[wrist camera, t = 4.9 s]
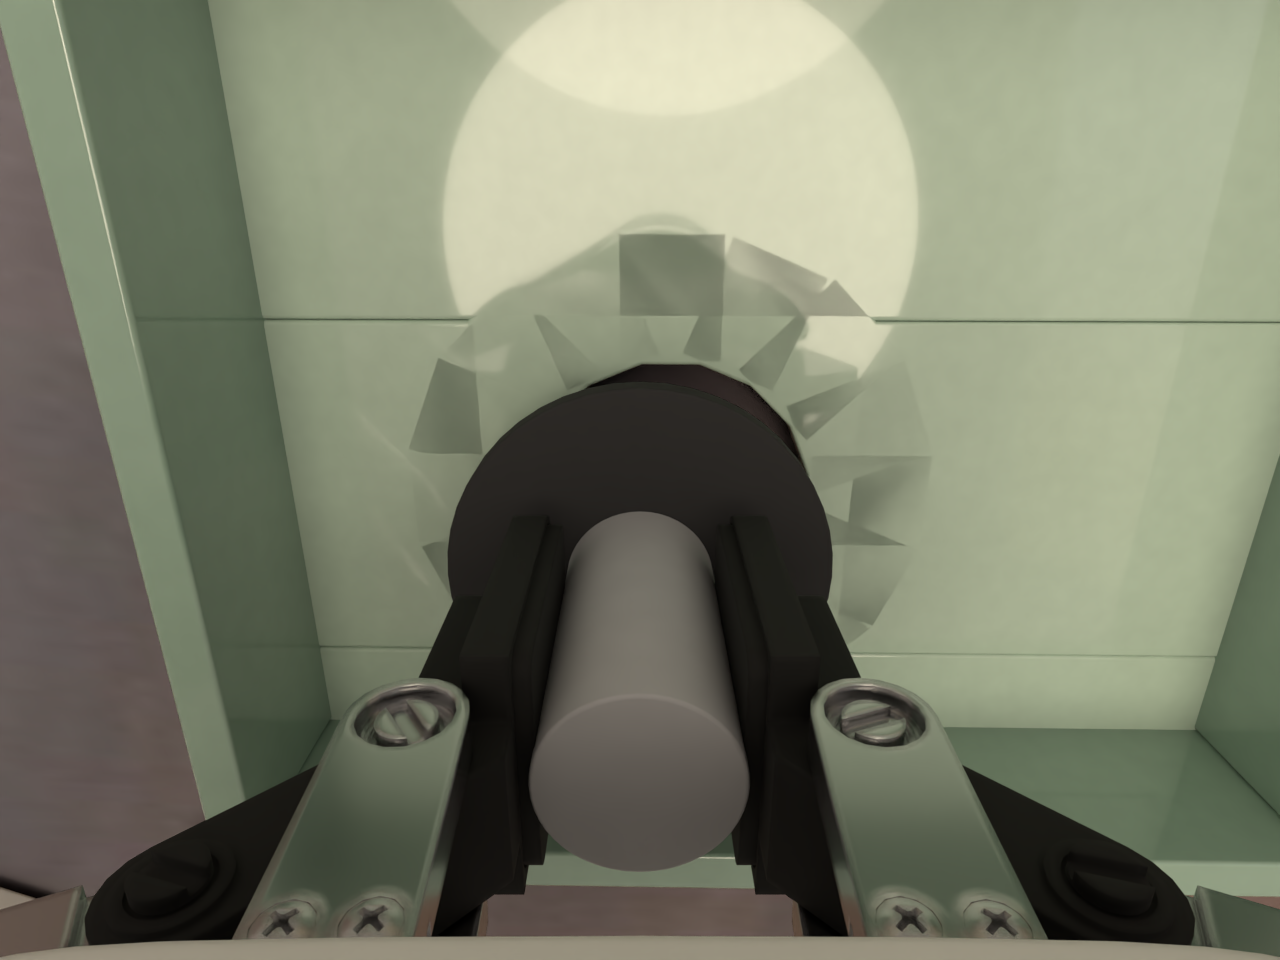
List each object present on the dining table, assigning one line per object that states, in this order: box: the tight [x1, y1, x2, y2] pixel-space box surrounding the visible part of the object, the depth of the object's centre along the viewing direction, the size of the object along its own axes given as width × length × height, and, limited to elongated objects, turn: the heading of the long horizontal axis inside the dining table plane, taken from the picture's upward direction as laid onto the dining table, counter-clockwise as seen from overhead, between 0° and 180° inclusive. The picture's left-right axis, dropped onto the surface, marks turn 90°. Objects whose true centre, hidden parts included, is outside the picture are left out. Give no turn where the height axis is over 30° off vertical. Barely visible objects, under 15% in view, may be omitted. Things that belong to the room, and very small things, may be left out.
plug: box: [447, 382, 833, 872], centre depth 11 cm, size 6×6×6 cm
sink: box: [0, 0, 1280, 897], centre depth 13 cm, size 16×20×4 cm
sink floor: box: [208, 0, 1280, 730], centre depth 15 cm, size 16×20×1 cm
